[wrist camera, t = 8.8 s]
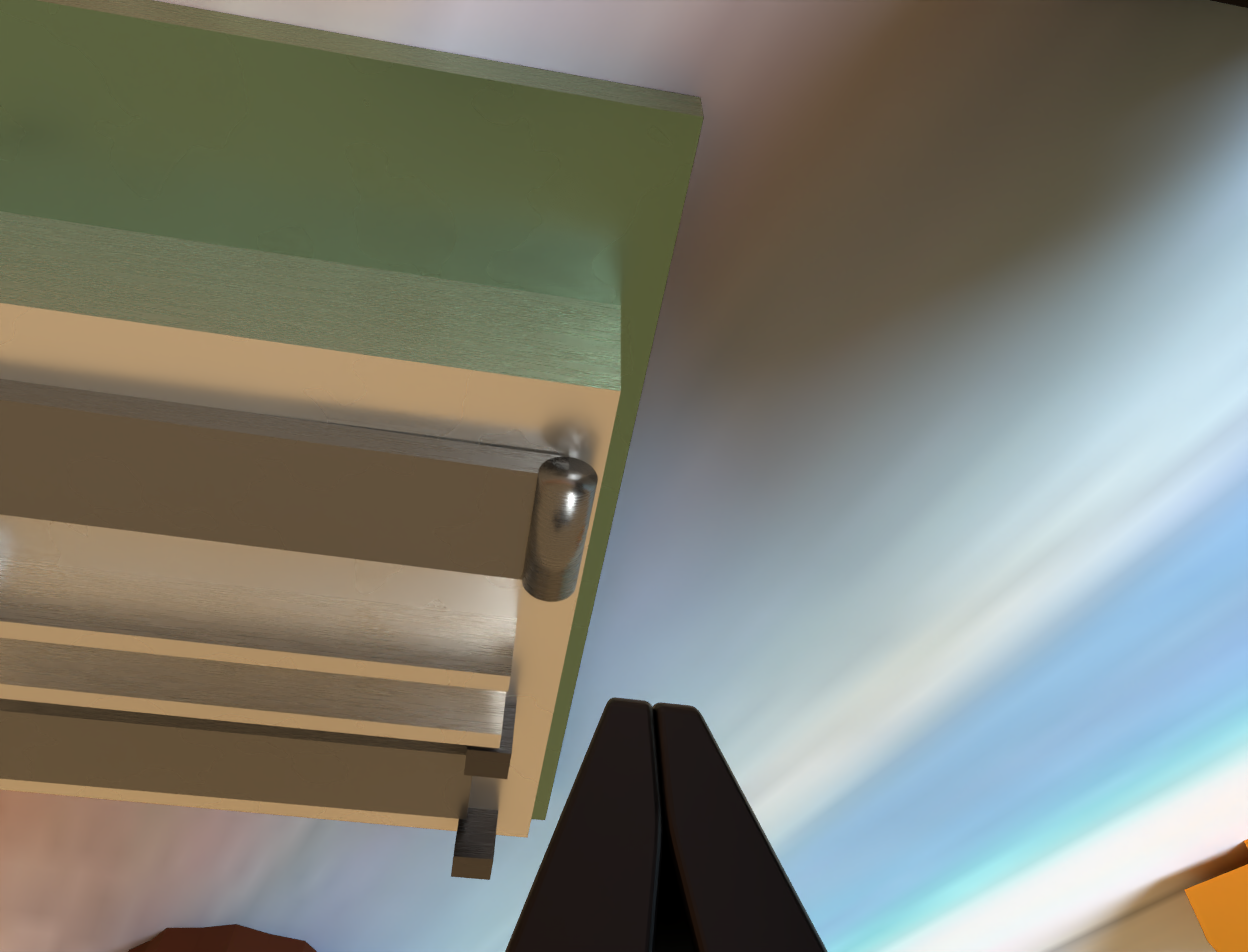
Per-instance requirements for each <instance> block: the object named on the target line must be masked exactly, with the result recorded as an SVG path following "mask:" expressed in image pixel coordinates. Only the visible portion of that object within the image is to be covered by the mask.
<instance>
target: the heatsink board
mask: <svg viewBox="0 0 1248 952" xmlns="http://www.w3.org/2000/svg"><path fill="white" fill-rule="evenodd" d="M703 118H704V116H703V110H702V105H701V99H700V97H695V96H690V95H684V94H678V93H673V92H667V91H661V90H656V89H650V88H644V87H639V86H633V85H627V84H622V83H616V82H611V81H605V80H599V79H594V78H588V77H582V76H577V75H571V74H565V73H560V72H554V71H548V70H543V69H537V68H532V67H526V66H520V65H515V64H509V63H503V62H498V61H492V60H486V59H481V58H475V57H469V56H464V55H458V54H453V53H447V52H441V51H436V50H430V49H424V48H419V47H413V46H407V45H402V44H396V43H390V42H385V41H379V40H374V39H368V38H362V37H357V36H351V35H345V34H340V33H334V32H328V31H323V30H317V29H311V28H306V27H300V26H295V25H289V24H283V23H278V22H272V21H266V20H261V19H255V18H249V17H244V16H238V15H232V14H227V13H221V12H216V11H210V10H204V9H199V8H193V7H187V6H182V5H176V4H170V3H165V2H159V1H153V0H0V379H6V380H13V381H20V382H28V383H35V384H43V385H50V386H58V387H65V388H73V389H80V390H88V391H95V392H102V393H110V394H117V395H125V396H132V397H140V398H147V399H155V400H162V401H169V402H177V403H184V404H192V405H199V406H207V407H214V408H221V409H229V410H236V411H243V412H250V413H257V414H265V415H272V416H279V417H286V418H293V419H300V420H308V421H315V422H322V423H329V424H336V425H344V426H351V427H358V428H365V429H372V430H380V431H387V432H394V433H401V434H408V435H416V436H423V437H430V438H437V439H444V440H452V441H459V442H466V443H473V444H480V445H488V446H495V447H502V448H509V449H516V450H523V451H531V452H538V453H545V454H552V455H559V456H567V457H573V458H577V459H580V460H582V461H584V462H586V463H588V464H589V465H590V466H591V467H592V468H593V469H594V470H595V471H596V473H597V476H598V482H597V487H596V492H595V497H594V502H593V507H592V511H591V516H590V521H589V526H588V531H587V536H586V541H585V545H584V550H583V555H582V560H581V565H580V570H579V575H578V579H577V584H576V588H575V591H574V593H573V594H572V595H571V596H570V597H568V598H566V599H564V600H562V601H557V602H546V601H542V600H539V599H536V598H534V597H533V596H531V595H530V594H529V593H528V592H527V591H526V590H525V589H524V587H523V585H522V580H519V579H511V578H503V577H495V576H487V575H479V574H471V573H463V572H455V571H447V570H439V569H431V568H423V567H415V566H407V565H399V564H391V563H383V562H375V561H367V560H359V559H351V558H343V557H335V556H327V555H319V554H311V553H303V552H295V551H287V550H279V549H271V548H263V547H255V546H247V545H239V544H231V543H223V542H215V541H207V540H199V539H191V538H183V537H175V536H167V535H159V534H151V533H143V532H135V531H127V530H119V529H111V528H104V527H96V526H88V525H80V524H72V523H64V522H56V521H48V520H40V519H32V518H24V517H16V516H8V515H0V698H2V699H12V700H22V701H31V702H41V703H51V704H61V705H71V706H81V707H91V708H101V709H111V710H121V711H131V712H141V713H151V714H161V715H171V716H181V717H191V718H201V719H211V720H221V721H231V722H241V723H251V724H260V725H270V726H280V727H290V728H300V729H310V730H320V731H330V732H340V733H350V734H360V735H370V736H380V737H390V738H400V739H410V740H420V741H430V742H440V743H450V744H460V745H467V753H466V761H465V769H464V775H468V776H472V782H471V790H470V797H469V804H468V812H467V819H455V818H444V817H432V816H421V815H409V814H398V813H386V812H375V811H364V810H352V809H341V808H329V807H318V806H307V805H295V804H284V803H272V802H261V801H250V800H238V799H227V798H215V797H204V796H193V795H181V794H170V793H158V792H147V791H135V790H124V789H113V788H101V787H90V786H78V785H67V784H56V783H44V782H33V781H21V780H10V779H0V790H10V791H21V792H32V793H43V794H54V795H65V796H76V797H87V798H98V799H109V800H120V801H131V802H142V803H153V804H164V805H175V806H186V807H197V808H208V809H219V810H230V811H241V812H252V813H263V814H274V815H285V816H296V817H307V818H318V819H329V820H340V821H351V822H362V823H373V824H384V825H395V826H406V827H417V828H428V829H439V830H450V831H457V835H456V842H455V850H454V857H453V865H452V873H451V876H452V877H464V878H476V879H487V880H490V875H491V870H492V864H493V857H494V847H495V838H496V835H506V836H517V837H527V836H528V832H529V827H530V822H531V819H538V820H545V818H546V813H547V809H548V804H549V800H550V796H551V791H552V787H553V782H554V778H555V773H556V769H557V765H558V760H559V756H560V751H561V747H562V742H563V738H564V734H565V729H566V725H567V720H568V716H569V711H570V707H571V703H572V698H573V694H574V689H575V685H576V680H577V676H578V672H579V667H580V663H581V658H582V654H583V649H584V645H585V641H586V636H587V632H588V627H589V623H590V618H591V614H592V610H593V605H594V601H595V596H596V592H597V587H598V583H599V579H600V574H601V570H602V565H603V561H604V556H605V552H606V548H607V543H608V539H609V534H610V530H611V525H612V521H613V517H614V512H615V508H616V503H617V499H618V494H619V490H620V486H621V481H622V477H623V472H624V468H625V463H626V459H627V455H628V450H629V446H630V441H631V437H632V432H633V428H634V424H635V419H636V415H637V410H638V406H639V401H640V397H641V393H642V388H643V384H644V379H645V375H646V370H647V366H648V361H649V357H650V353H651V348H652V344H653V339H654V335H655V330H656V326H657V322H658V317H659V313H660V308H661V304H662V299H663V295H664V291H665V286H666V282H667V277H668V273H669V268H670V264H671V260H672V255H673V251H674V246H675V242H676V237H677V233H678V229H679V224H680V220H681V215H682V211H683V206H684V202H685V198H686V193H687V189H688V184H689V180H690V175H691V171H692V167H693V162H694V158H695V153H696V149H697V144H698V140H699V136H700V131H701V127H702V122H703Z"/></svg>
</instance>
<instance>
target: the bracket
mask: <svg viewBox="0 0 1248 952" xmlns="http://www.w3.org/2000/svg"><path fill="white" fill-rule="evenodd" d="M1244 843H1245V844H1246V846H1247V848H1248V839H1247V840H1245V841H1244ZM1185 893H1186V895H1187V897H1188V899H1189V901H1190V904H1191V906H1192V908H1193V910H1194V912H1195V915H1196V917H1197V919H1198V921H1199V923H1200V926H1201V928H1202V930H1203V932H1204V935H1205V937H1206V939H1207V941H1208V943H1209V944H1210V945H1211V946H1212V947H1213V948H1214V949H1215V950H1216V951H1217V952H1248V864H1247V865H1244V866H1242V867H1239V868H1237V869H1234V870H1232V871H1229V872H1227V873H1225V874H1222V875H1220V876H1217V877H1215V878H1212V879H1210V880H1207V881H1205V882H1202V883H1200V884H1197V885H1195V886H1192V887H1190V888H1187V889H1185Z"/></svg>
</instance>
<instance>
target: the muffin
mask: <svg viewBox="0 0 1248 952" xmlns="http://www.w3.org/2000/svg"><path fill="white" fill-rule="evenodd" d="M128 952H317V951H316V950H314V949H313V948H312V947H311V946H310V945H309V944H308V943H307V942H305V941H302V940H297V939H292V938H287V937H282V936H277V935H272V934H268V933H264V932H261V931H257V930H254V929H251V928H247V927H244V926H240V925H237V924H234V925H224V926H214V927H205V928H166V929H165V930H164V931H162V932H161V933H160V934H159V935H157V936H156V937H155V938H153V939H152V940H150V941H148V942H146V943H144V944H142V945H139V946H137V947H135V948H133V949H131V950H129V951H128Z"/></svg>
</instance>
